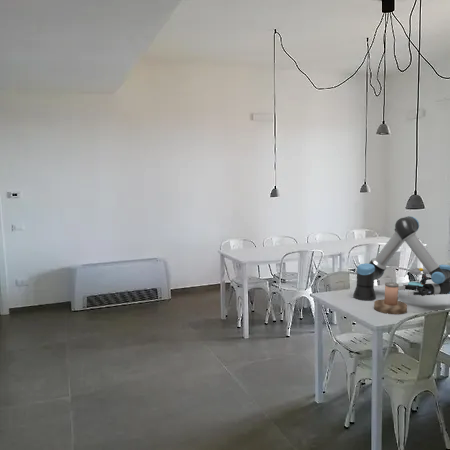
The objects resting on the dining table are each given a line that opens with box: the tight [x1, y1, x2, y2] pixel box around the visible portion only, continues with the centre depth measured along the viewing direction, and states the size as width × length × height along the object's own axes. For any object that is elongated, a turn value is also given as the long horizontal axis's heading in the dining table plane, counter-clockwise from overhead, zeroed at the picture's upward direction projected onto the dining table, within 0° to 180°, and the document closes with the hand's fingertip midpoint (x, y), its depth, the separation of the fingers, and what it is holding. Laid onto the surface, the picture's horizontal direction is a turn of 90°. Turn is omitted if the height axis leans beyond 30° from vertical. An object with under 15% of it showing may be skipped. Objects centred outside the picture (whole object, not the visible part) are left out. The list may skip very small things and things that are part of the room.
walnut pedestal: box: [373, 298, 408, 315], centre depth 310 cm, size 20×20×4 cm
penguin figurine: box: [407, 267, 430, 287], centre depth 372 cm, size 20×11×15 cm, turn 43°
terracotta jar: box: [384, 281, 400, 305], centre depth 309 cm, size 8×8×13 cm
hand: (402, 290), depth 310 cm, fingers open, 13 cm apart
